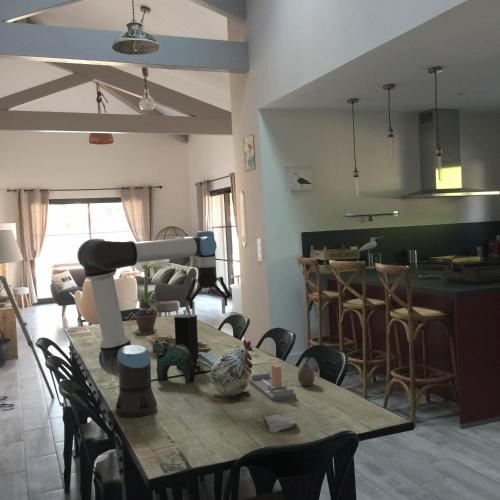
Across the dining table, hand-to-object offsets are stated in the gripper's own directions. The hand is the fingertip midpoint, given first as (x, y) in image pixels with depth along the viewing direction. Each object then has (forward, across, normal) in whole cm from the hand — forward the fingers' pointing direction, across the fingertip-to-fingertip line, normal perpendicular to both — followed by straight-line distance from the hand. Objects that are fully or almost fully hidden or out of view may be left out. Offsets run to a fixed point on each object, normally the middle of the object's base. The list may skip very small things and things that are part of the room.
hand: (208, 315), depth 240 cm
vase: (+29, -34, +25) cm, 51 cm away
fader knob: (+27, -19, +31) cm, 45 cm away
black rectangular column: (+29, +5, -26) cm, 39 cm away
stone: (+29, -7, +62) cm, 69 cm away
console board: (+29, -19, +25) cm, 42 cm away
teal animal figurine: (+29, +15, -6) cm, 33 cm away
